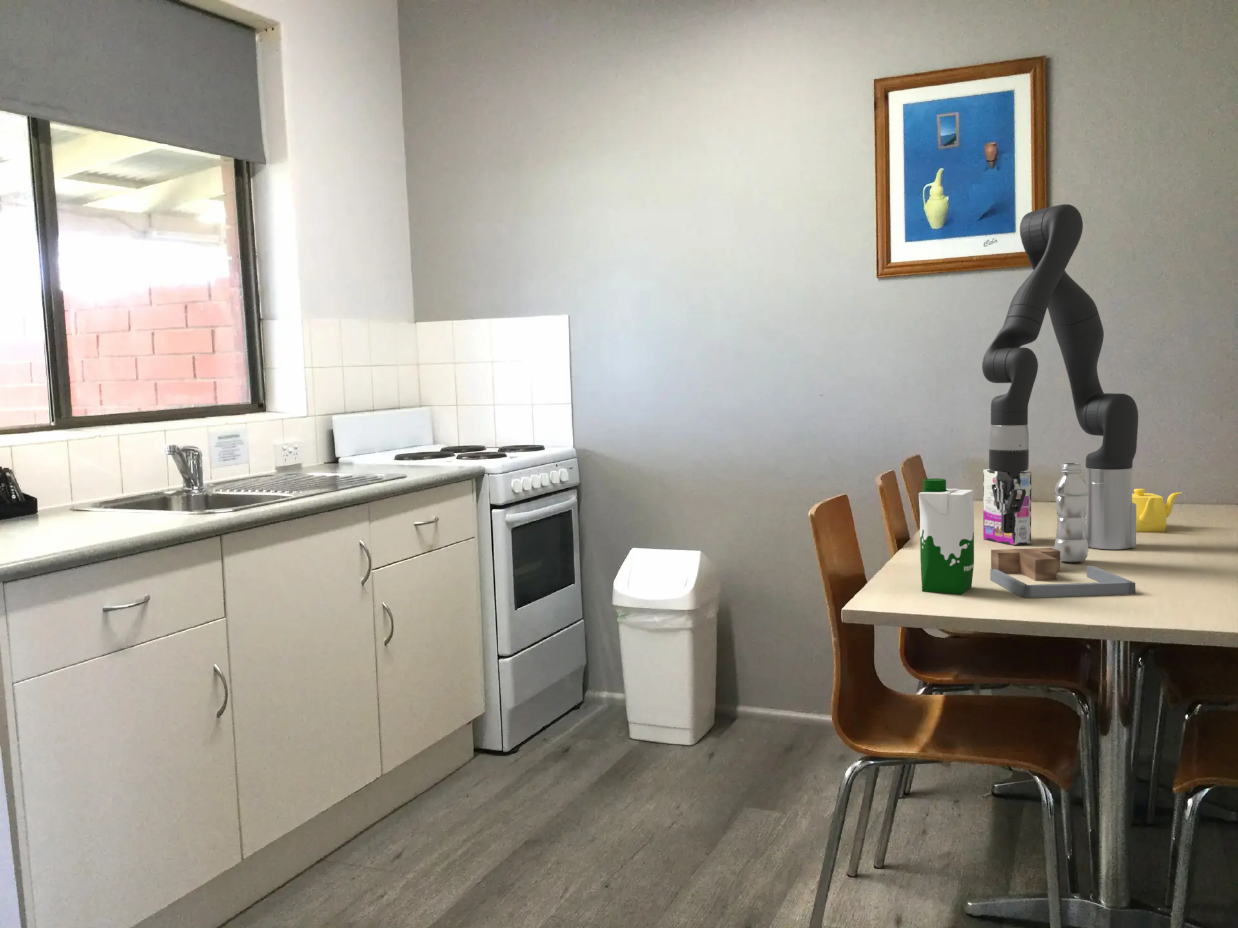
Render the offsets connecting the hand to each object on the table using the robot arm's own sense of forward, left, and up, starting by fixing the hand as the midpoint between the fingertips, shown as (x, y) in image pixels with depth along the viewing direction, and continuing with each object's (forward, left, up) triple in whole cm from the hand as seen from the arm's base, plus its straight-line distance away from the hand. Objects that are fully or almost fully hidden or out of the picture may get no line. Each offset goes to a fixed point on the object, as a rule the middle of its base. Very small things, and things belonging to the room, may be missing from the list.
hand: (1007, 532), depth 215 cm
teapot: (-45, -38, -7) cm, 60 cm away
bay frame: (0, +24, -6) cm, 25 cm away
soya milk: (+20, +23, -7) cm, 31 cm away
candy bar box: (-9, -26, -7) cm, 28 cm away
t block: (0, +12, -6) cm, 14 cm away
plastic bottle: (-12, +1, -7) cm, 14 cm away
